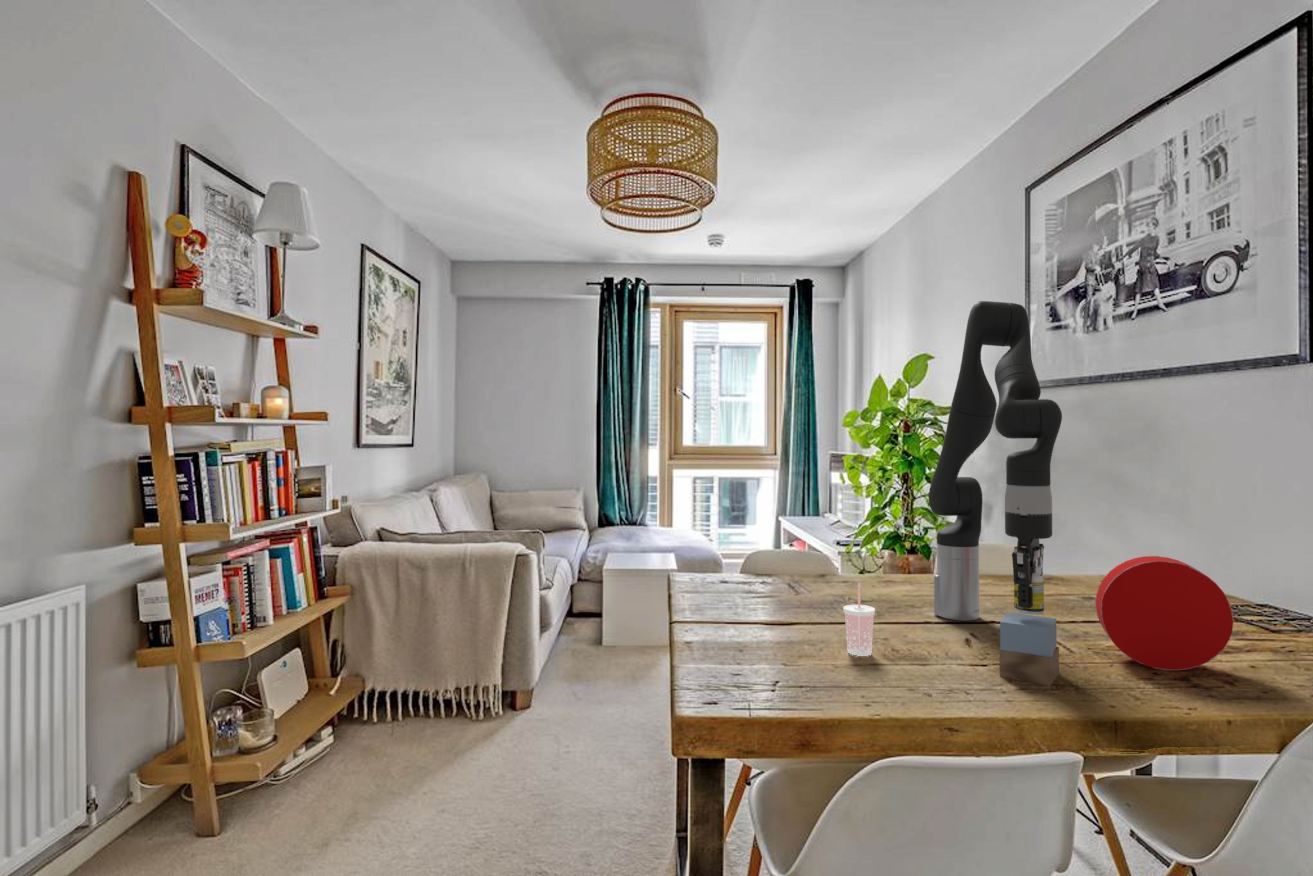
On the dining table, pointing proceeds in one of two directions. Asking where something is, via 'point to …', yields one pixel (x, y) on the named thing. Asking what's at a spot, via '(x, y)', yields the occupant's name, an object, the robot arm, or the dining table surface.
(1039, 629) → the tower top block
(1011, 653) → the tower base block
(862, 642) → the beverage cup
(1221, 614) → the red disc
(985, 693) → the dining table surface
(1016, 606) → the supplement bottle
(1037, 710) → the dining table surface
